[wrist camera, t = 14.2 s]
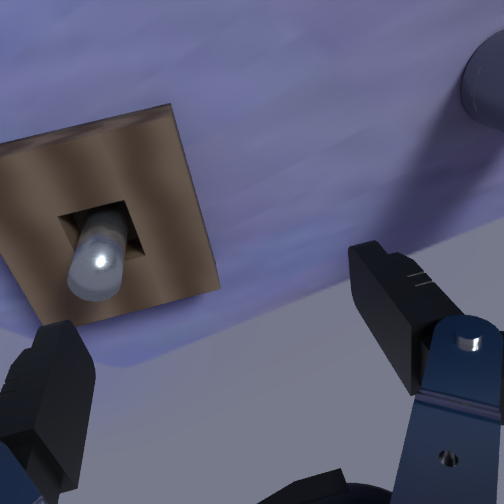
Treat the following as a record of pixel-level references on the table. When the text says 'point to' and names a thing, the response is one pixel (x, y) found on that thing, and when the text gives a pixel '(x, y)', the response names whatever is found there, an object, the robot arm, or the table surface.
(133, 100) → the table surface
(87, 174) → the socket block
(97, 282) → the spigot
